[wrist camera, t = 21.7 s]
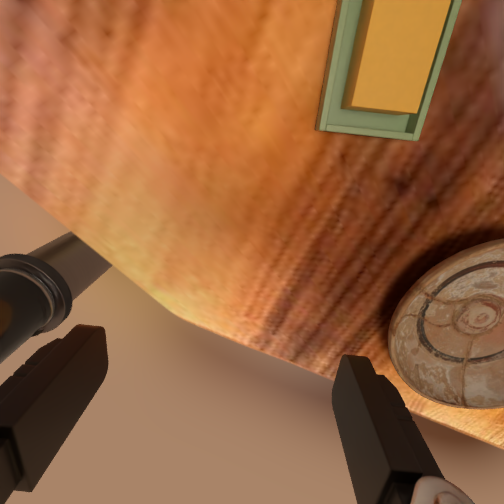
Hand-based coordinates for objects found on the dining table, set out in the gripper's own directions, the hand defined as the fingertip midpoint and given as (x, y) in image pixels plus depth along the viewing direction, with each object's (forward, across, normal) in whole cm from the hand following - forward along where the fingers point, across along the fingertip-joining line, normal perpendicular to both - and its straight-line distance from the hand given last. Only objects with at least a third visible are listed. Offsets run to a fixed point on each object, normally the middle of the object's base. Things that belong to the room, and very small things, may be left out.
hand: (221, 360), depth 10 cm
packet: (+23, -10, -16) cm, 30 cm away
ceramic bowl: (+24, -29, +10) cm, 39 cm away
